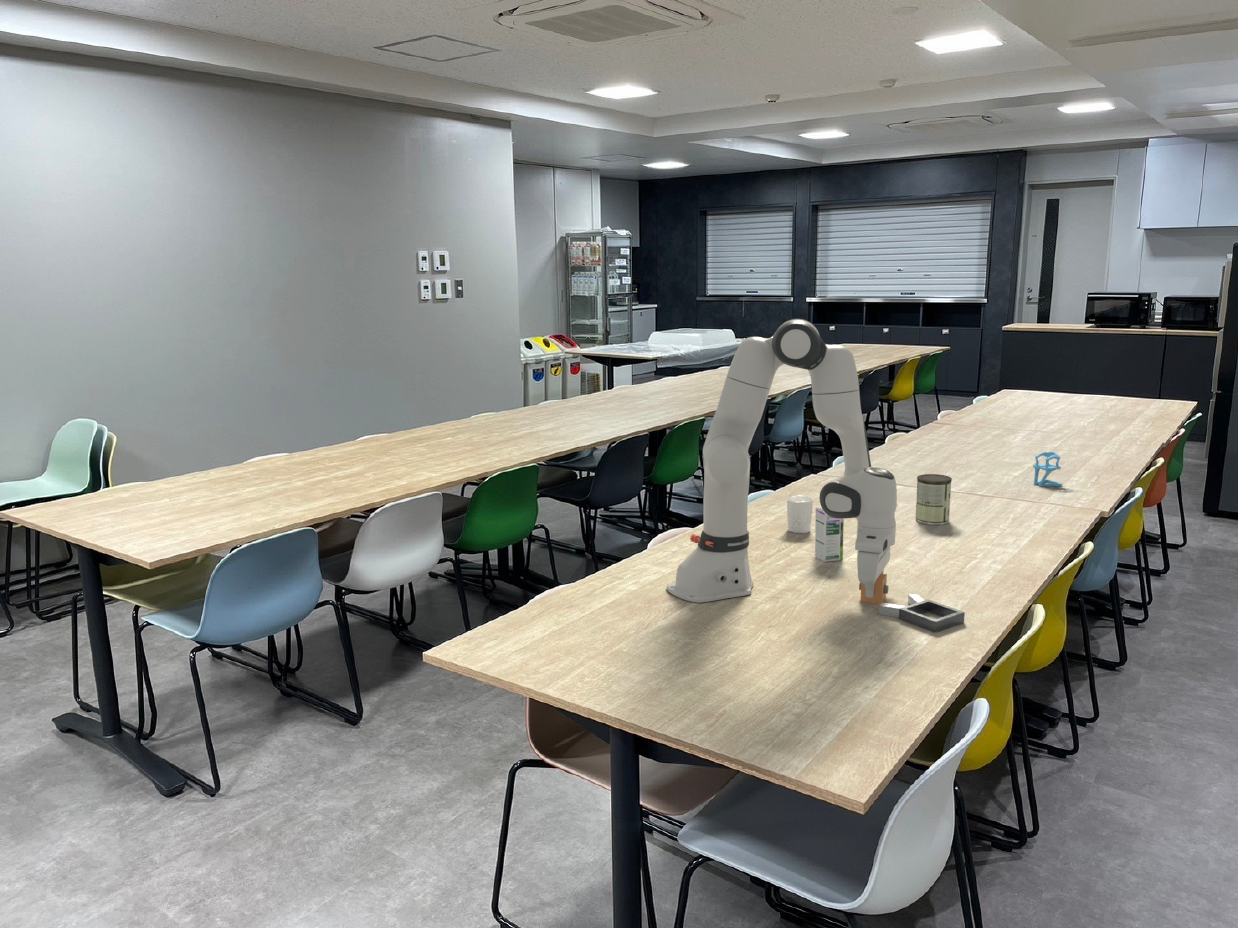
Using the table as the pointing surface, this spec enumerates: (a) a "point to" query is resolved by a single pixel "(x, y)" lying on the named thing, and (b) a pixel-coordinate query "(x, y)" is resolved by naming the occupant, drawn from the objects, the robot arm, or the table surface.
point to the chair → (1046, 469)
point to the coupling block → (876, 590)
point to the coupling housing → (921, 606)
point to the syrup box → (828, 536)
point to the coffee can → (933, 499)
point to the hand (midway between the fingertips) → (873, 590)
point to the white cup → (799, 513)
